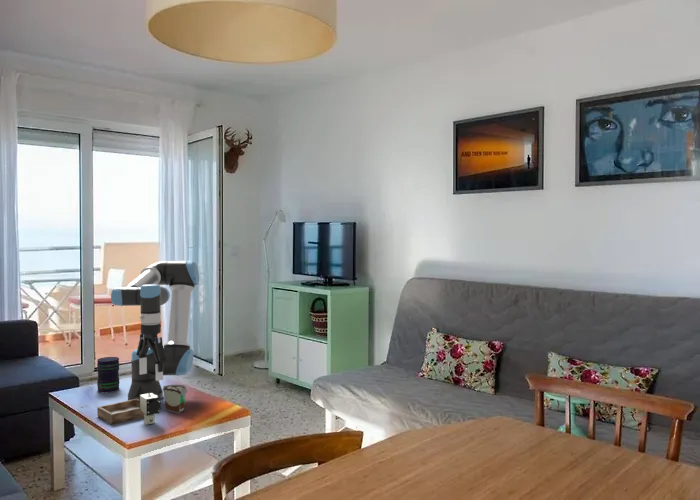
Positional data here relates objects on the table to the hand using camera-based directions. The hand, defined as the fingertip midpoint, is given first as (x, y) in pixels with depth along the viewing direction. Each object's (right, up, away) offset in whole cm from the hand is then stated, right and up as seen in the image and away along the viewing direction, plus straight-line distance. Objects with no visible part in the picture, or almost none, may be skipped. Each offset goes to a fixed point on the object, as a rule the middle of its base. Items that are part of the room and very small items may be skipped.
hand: (151, 376), depth 225 cm
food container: (+5, -18, +18) cm, 26 cm away
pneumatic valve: (0, -19, +1) cm, 19 cm away
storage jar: (-37, -17, +48) cm, 63 cm away
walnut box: (-14, -18, +9) cm, 25 cm away
